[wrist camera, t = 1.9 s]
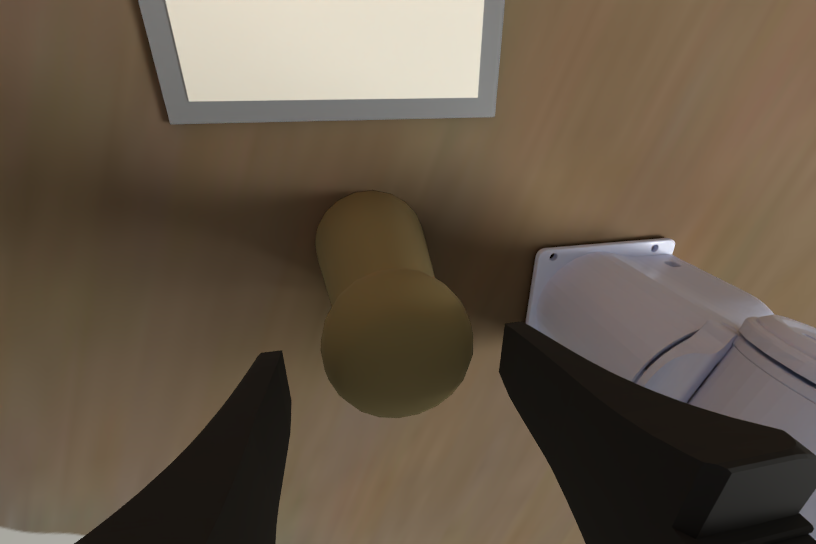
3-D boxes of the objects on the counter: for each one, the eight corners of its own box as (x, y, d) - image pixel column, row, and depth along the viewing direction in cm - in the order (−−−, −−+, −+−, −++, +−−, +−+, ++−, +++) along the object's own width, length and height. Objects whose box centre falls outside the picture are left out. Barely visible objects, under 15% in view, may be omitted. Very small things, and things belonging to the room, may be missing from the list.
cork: (314, 187, 20) (302, 291, 10) (429, 192, 21) (518, 288, 11) (315, 292, 22) (307, 455, 13) (417, 291, 23) (482, 438, 14)
